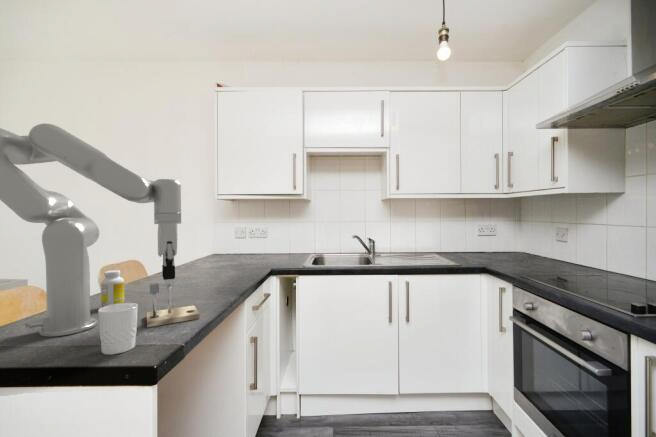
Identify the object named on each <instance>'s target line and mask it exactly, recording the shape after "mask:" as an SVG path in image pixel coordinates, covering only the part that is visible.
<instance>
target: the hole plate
mask: <svg viewBox="0 0 656 437" xmlns="http://www.w3.org/2000/svg"><path fill="white" fill-rule="evenodd" d="M199 319H200V313H199V310H198V309H197V308H196V306H195V305H188V306H180V307H174V308H172V307H171V313H169V314H168V308H166V309H159V310H158V309H157V310H156V316H153V310H152V311H146V327H147V328H150V327H151V328H152V327H156V326H161V325H169V324H174V323H179V322H186V321H194V320H199Z"/></svg>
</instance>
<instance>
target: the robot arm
mask: <svg viewBox="0 0 656 437" xmlns="http://www.w3.org/2000/svg"><path fill="white" fill-rule="evenodd" d="M52 162H58V163H60V164H61V165H63V166H65V167H67V168H68V169H71V170H72V171H74V172H76V173H78V174H79V175H81V176H83V177H84V178H86V179H87V180H90V181H92V182H94V183H96V184H97V185H99V186H101V187H102V188H104V189H106V190H108V191H110V192H112V193H113V194H115V195H116V196H118V197H120V198H122V199H124V200H127V201H129V202H132V203H137V204H149V203H153V209H154V210H153V218H154V219H153V222H154V224H153V225H157V255H158V256H159V257H160V258H161V257H162V265H161V266H162V267H161V268H162V270H161V272H162V276H161V277H162V280H163V279H164V280H168V279H175V280H176V265H175V257H176V256H177V254H178V225H180V224H182V185H181V182H180V181H179V180H176V179H171V178H158V179H156V180H148V179H146V178H144V177H141V176H140V175H139V174H136V173H135V172H133V171H131V170H130V169H128V168H126V167H124V166H123V165H120V164H119V163H117V162H116V161H114V160H112V159H111V158H110V157H109V156H108V155H107V154H106V153H104V152H103V151H101V150H100V149H97V148H96V147H94V146H92V145H91V144H89V143H87V141H86V142H85V141H84V140H82V139H80V138H78V137H77V136H76V135H73V134H72V133H70V132H68V131H67V130H65V129H63V128H62V127H59V126H57V125H55V124H52V123H39V124H36V125H35V126H33V127H32V128H31V129H30V131H29V132H28V134H27V135H19V134H16V133H14V132H11V131H9V130H6V129H4V128H2V127H0V201H1V203H3V204H4V205H5V206H7V208H9V209H10V210H11V211H12V212H14V213H15V214H16V216H18V217H19V218H20V219H22V220H23V221H26V222H28V223H32V224H45V225H46V226H45V227H44V229H43V231H42V235H41V243H42V248H43V249H42V250H43V252H44V258H45V276H46V277H45V283H46V289H45V290H46V315H44V316H42V317H41V318H31V319H26V321H25V327H26V328H29V329H32V328H38V327H41V328H40V329H39V331H38V332H39V335H40V336H41V337H61V336H69V335H73V334H78V333H81V332H84V331H87V330H90V329H92V328H94V327H96V326H97V324H98V320H97V318H94V317H91V291H90V290H91V281H90V280H91V279H90V278H91V275H90V274H91V273H90V270H91V269H90V266H91V265H90V258H89V253H88V247H91V246H92V245H94V244H95V243H96V242H97V241H98V239H99V237H100V230H99V228H100V227H99V226H98V225H97V223H96V222H95V221H94V220H93V219H92V218H91V217H90V216H88V214H86V213H85V212H84V211H83V210H82V209H81V208H80V207H78V205H76V204H75V203H74V202H73V201H72V200H71V199H70V198H68V197H67V196H65V195H63V193H60V192H56V191H51V190H48V189H45V188H43V187H42V186H40V185H39V184H38V183H36V181H35V180H33V179H32V178H31V177H30V176H29V175H28V174H27V173H26V172H24V171H23V170H21V168H19V167H18V166H17V165H21V166H22V165H35V164H44V163H52Z"/></svg>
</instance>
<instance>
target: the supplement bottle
mask: <svg viewBox="0 0 656 437" xmlns="http://www.w3.org/2000/svg"><path fill="white" fill-rule="evenodd" d="M103 273H104V278H103V279H102V280H101V282H100V291H101V292H100V293H101V295H100V297H101V299H100V300H101V302H100V303H101V308H102V307H105V306H108V305H113V304H119V303H125V279H124V278H123V277H121V270H120V269H118V270H107V271H104V272H103Z"/></svg>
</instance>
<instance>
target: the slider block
mask: <svg viewBox="0 0 656 437" xmlns="http://www.w3.org/2000/svg"><path fill="white" fill-rule="evenodd" d="M175 281H176V278H175V279H168V280H164V279H163V278H162V283H163V284H162V285H167V284H168V289H167V309H168V314H169V313H171V309H172V288H171V284H175V283H176V282H175Z"/></svg>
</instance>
